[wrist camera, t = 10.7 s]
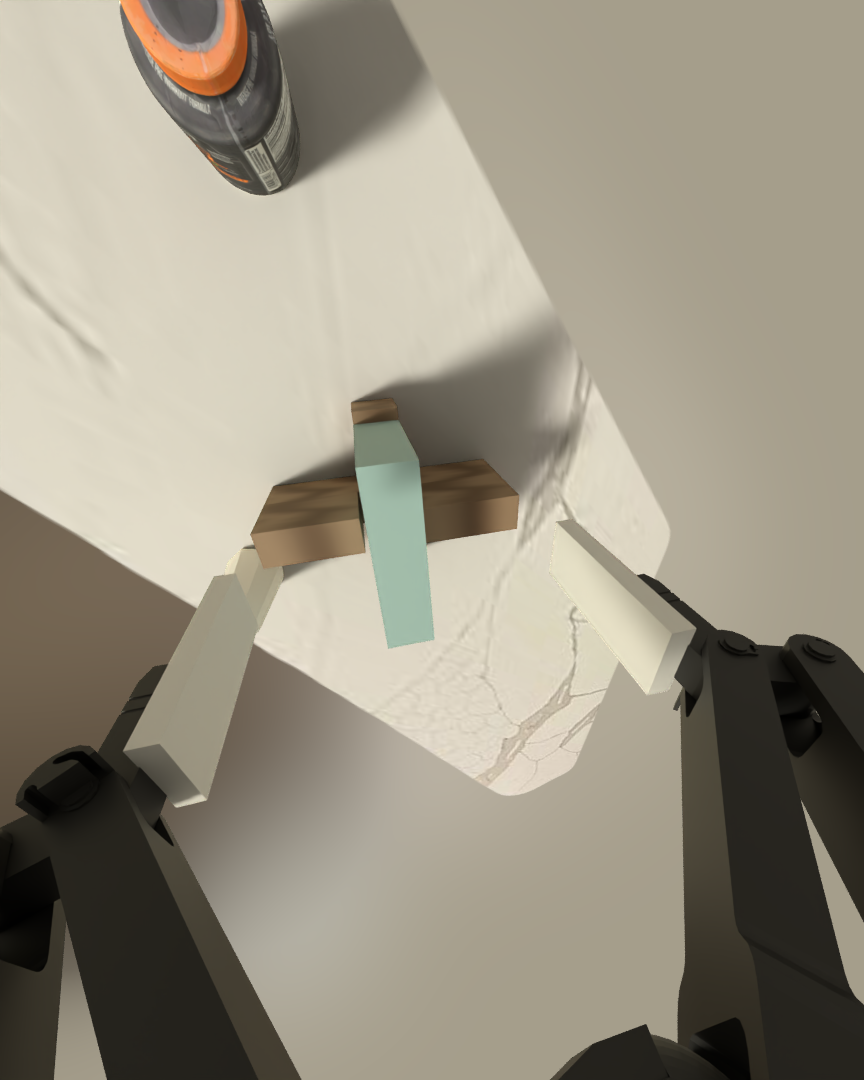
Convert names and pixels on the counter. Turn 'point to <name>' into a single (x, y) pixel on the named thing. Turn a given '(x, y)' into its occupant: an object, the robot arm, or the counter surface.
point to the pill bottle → (220, 84)
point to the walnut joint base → (337, 515)
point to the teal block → (395, 529)
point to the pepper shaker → (256, 581)
